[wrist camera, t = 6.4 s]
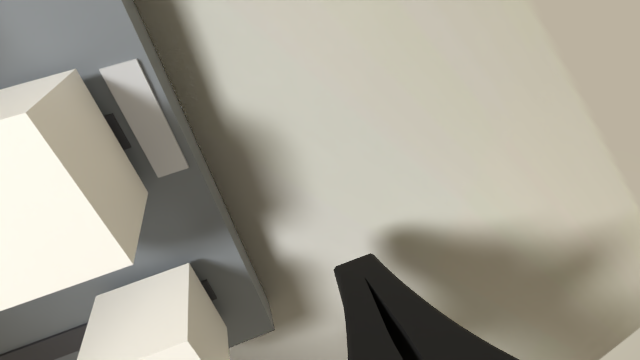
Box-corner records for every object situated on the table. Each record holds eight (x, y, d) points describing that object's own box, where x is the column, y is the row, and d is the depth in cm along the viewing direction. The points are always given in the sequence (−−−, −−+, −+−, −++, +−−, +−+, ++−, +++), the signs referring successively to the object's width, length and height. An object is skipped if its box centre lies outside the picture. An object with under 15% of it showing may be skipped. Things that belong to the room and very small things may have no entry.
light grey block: (226, 327, 14) (233, 406, 11) (148, 357, 14) (137, 446, 11) (189, 262, 12) (187, 340, 9) (96, 296, 12) (68, 386, 9)
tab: (148, 192, 10) (133, 264, 8) (38, 228, 10) (-13, 316, 8) (75, 68, 8) (25, 112, 6) (-65, 107, 8) (-182, 171, 6)
